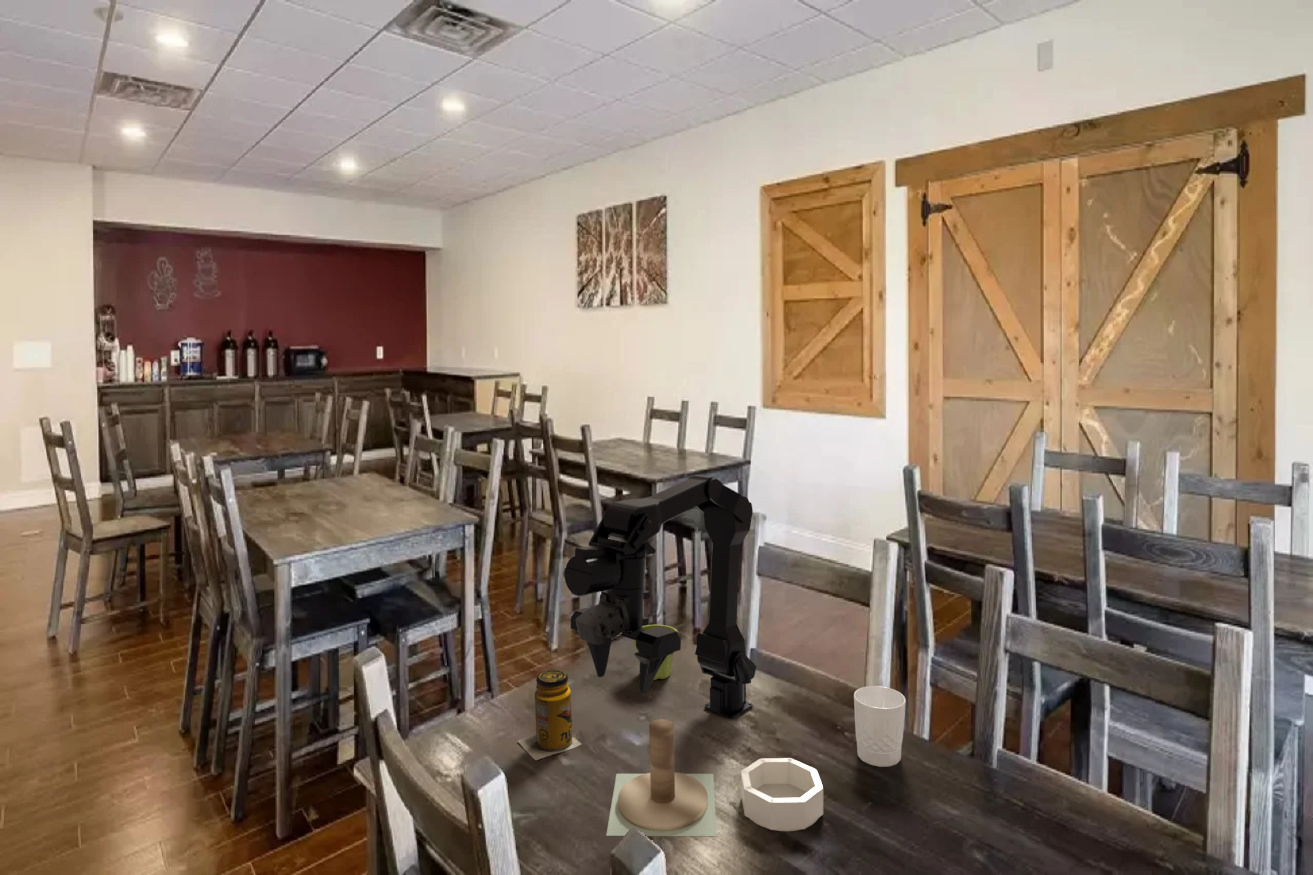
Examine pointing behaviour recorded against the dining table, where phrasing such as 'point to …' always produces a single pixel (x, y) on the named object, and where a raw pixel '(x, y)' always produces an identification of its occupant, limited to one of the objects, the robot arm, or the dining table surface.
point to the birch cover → (662, 788)
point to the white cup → (879, 725)
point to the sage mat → (699, 828)
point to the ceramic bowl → (781, 794)
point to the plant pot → (667, 663)
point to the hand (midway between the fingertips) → (621, 684)
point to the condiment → (551, 716)
